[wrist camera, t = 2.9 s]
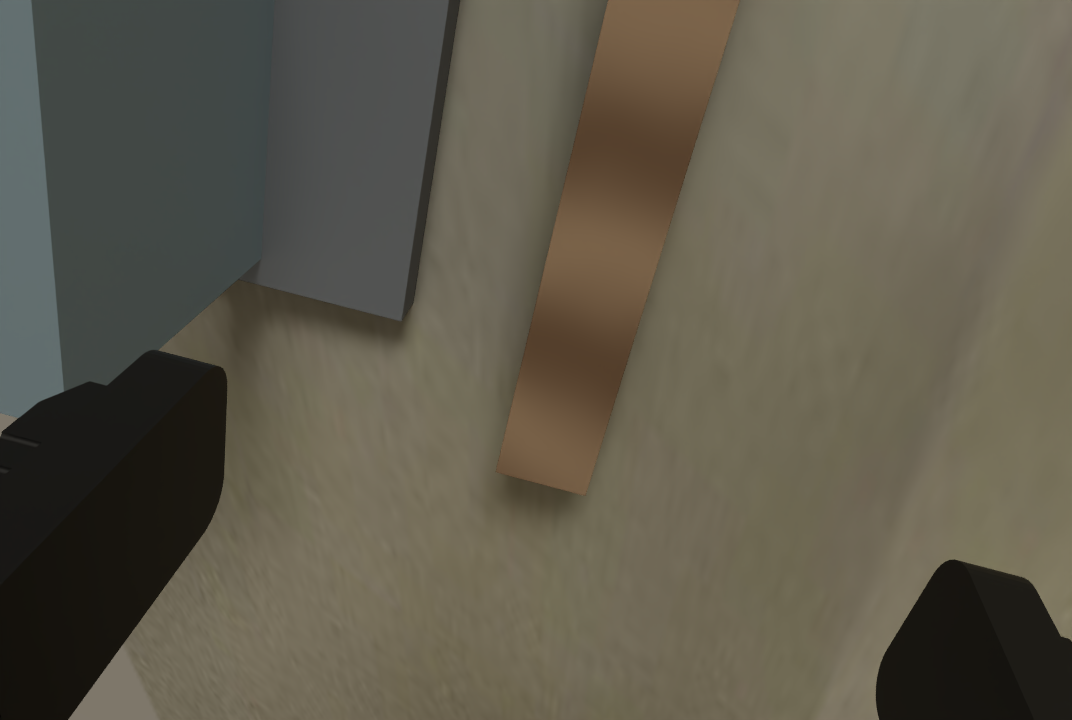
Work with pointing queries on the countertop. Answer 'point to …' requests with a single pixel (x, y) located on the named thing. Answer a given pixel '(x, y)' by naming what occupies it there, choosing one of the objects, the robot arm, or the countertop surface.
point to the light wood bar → (611, 229)
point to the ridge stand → (204, 167)
